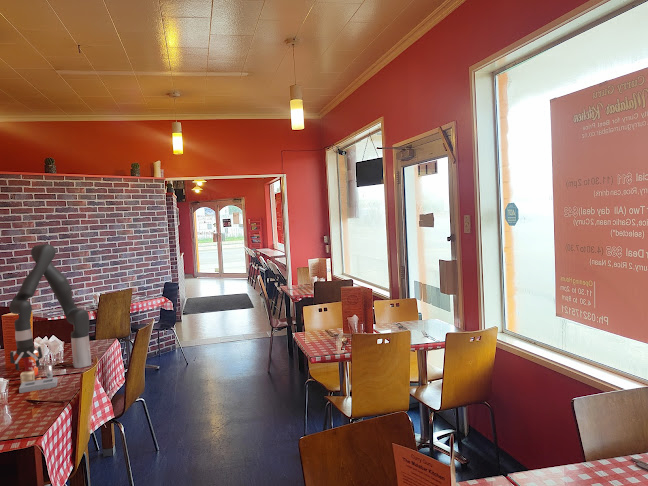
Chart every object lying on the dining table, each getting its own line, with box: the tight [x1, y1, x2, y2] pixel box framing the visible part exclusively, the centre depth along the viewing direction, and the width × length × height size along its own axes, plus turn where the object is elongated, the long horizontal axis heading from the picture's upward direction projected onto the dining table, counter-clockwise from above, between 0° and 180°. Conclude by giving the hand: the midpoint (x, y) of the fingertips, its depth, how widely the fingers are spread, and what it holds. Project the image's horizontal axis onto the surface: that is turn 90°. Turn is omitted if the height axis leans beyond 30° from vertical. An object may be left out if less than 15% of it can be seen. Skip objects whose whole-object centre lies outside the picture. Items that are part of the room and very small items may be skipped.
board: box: [18, 376, 59, 394], centre depth 249 cm, size 16×10×2 cm, turn 115°
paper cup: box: [22, 350, 39, 377], centre depth 271 cm, size 8×8×14 cm
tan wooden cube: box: [20, 370, 36, 385], centre depth 255 cm, size 6×6×6 cm
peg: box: [44, 364, 54, 379], centre depth 259 cm, size 3×3×8 cm
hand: (27, 368), depth 255 cm, fingers open, 8 cm apart
